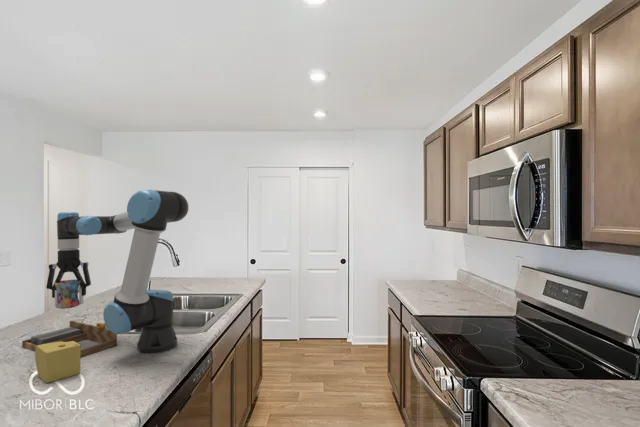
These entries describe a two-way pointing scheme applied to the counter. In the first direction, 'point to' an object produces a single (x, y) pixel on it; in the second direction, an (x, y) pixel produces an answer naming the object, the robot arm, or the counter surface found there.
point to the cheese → (57, 360)
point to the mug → (67, 293)
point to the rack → (76, 337)
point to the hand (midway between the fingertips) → (69, 304)
